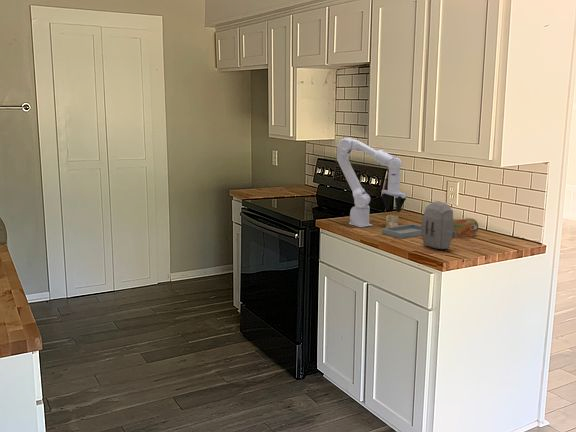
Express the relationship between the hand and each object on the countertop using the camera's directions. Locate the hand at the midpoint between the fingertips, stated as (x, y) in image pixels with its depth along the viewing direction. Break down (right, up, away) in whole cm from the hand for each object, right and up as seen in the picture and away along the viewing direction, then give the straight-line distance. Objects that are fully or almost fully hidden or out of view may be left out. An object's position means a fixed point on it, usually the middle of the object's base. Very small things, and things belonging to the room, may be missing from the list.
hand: (392, 210), depth 275 cm
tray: (+5, -11, -11) cm, 16 cm away
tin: (+29, -12, -14) cm, 35 cm away
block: (0, -8, +2) cm, 8 cm away
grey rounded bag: (+11, -16, -36) cm, 41 cm away
